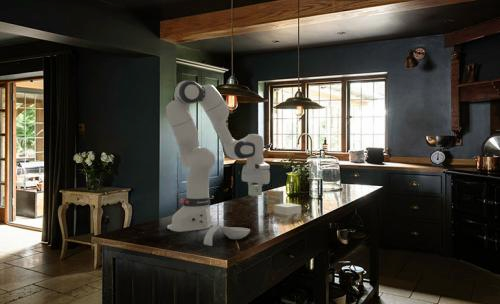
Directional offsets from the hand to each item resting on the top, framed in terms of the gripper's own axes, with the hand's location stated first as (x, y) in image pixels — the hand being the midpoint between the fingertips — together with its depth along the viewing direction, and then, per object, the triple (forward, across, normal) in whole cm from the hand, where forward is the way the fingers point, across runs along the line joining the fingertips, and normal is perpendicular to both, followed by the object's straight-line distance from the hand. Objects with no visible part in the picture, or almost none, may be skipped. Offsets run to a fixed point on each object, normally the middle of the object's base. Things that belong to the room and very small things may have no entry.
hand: (255, 191), depth 217 cm
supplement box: (+15, -8, +21) cm, 27 cm away
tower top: (+11, +9, +15) cm, 21 cm away
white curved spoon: (+16, +25, -34) cm, 45 cm away
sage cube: (+2, 0, 0) cm, 2 cm away
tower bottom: (+15, +9, +15) cm, 23 cm away
